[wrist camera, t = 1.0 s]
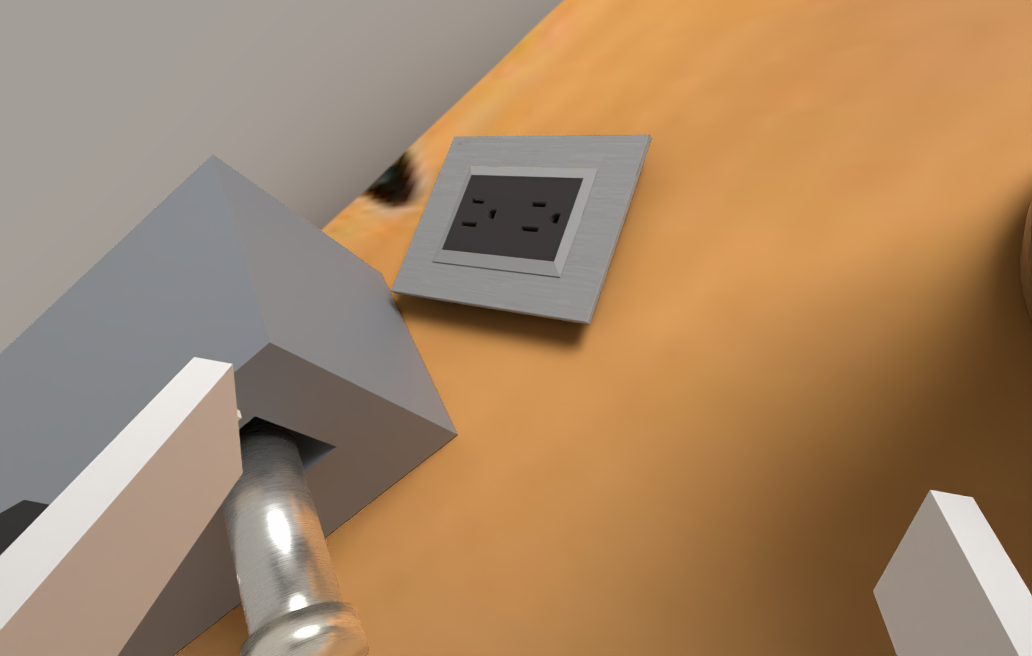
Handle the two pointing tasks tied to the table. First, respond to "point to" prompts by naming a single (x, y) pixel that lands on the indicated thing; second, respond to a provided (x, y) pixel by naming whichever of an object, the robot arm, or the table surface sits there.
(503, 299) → the electrical outlet
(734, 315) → the table surface
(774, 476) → the table surface
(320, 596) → the silver metal peg
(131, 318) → the housing
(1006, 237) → the table surface
